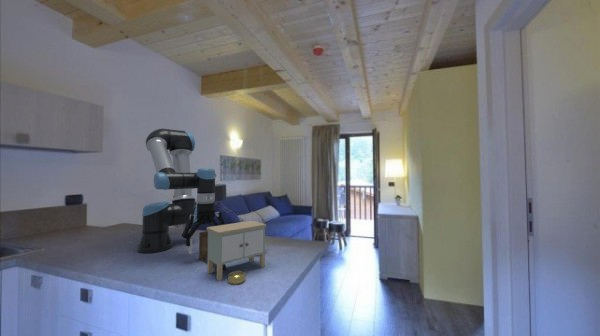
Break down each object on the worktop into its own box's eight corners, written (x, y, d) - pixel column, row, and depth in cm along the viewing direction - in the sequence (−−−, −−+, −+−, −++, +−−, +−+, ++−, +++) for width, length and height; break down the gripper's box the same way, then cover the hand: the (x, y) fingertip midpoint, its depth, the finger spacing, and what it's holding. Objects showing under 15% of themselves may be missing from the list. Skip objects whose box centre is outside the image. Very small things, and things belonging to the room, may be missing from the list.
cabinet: (205, 272, 95) (206, 227, 95) (252, 259, 109) (252, 220, 109) (218, 282, 86) (219, 232, 86) (267, 267, 100) (267, 224, 100)
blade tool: (199, 259, 109) (199, 232, 109) (207, 256, 112) (208, 230, 112) (217, 272, 95) (217, 241, 95) (227, 269, 98) (227, 239, 98)
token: (225, 284, 85) (225, 277, 85) (232, 276, 91) (232, 270, 91) (241, 286, 84) (241, 279, 84) (247, 278, 90) (247, 271, 90)
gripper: (179, 205, 98) (178, 258, 98) (234, 201, 115) (234, 246, 115) (173, 203, 104) (173, 254, 104) (227, 199, 121) (227, 243, 120)
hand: (205, 250), depth 109 cm, fingers open, 12 cm apart
